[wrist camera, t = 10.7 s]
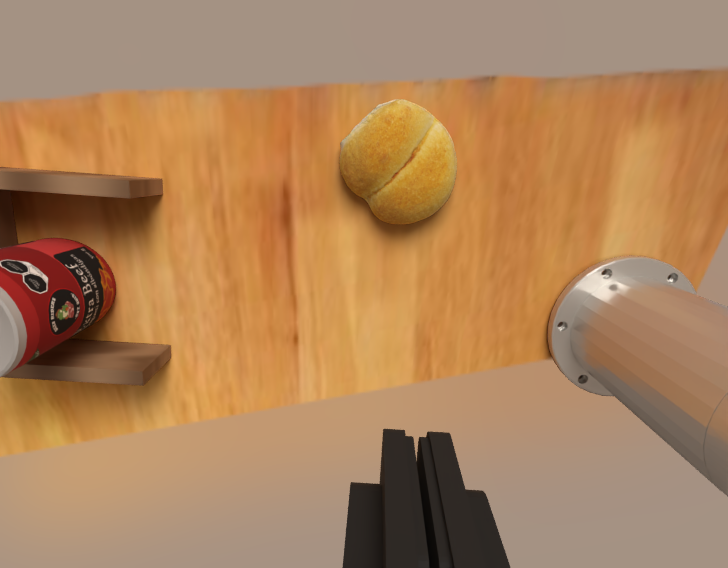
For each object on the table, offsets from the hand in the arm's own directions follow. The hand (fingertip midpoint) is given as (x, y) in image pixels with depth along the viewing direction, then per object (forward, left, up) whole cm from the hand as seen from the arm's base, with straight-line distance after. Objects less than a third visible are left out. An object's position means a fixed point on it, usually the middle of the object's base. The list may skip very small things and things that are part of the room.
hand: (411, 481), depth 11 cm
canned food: (+25, +3, -26) cm, 36 cm away
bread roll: (-1, -8, -26) cm, 27 cm away
